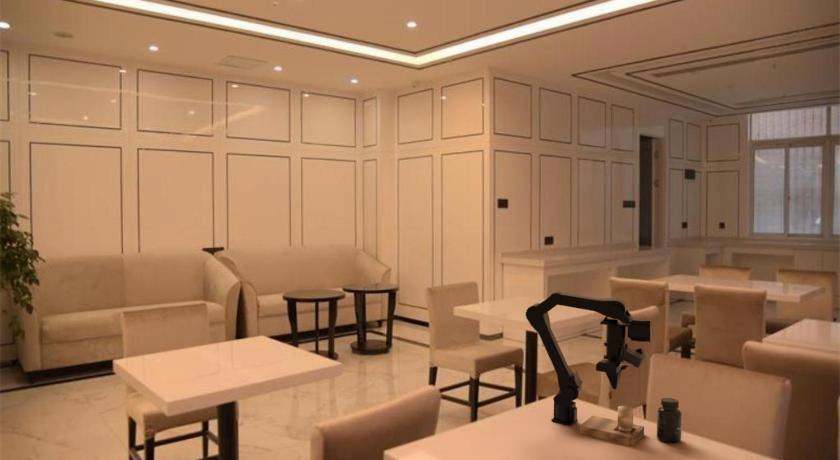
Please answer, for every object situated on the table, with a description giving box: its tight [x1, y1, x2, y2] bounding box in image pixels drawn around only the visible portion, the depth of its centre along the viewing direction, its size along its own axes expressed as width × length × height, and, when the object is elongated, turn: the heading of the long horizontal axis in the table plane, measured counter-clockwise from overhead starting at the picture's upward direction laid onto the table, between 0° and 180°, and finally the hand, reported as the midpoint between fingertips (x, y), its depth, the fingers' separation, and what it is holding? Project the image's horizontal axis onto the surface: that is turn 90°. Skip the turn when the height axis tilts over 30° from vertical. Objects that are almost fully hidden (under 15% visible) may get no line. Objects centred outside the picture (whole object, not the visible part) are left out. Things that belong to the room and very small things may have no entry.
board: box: [579, 415, 645, 447], centre depth 181 cm, size 16×11×2 cm
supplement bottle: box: [656, 397, 683, 445], centre depth 177 cm, size 7×7×12 cm
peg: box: [617, 405, 634, 434], centre depth 178 cm, size 4×4×9 cm
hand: (614, 388), depth 185 cm, fingers closed
